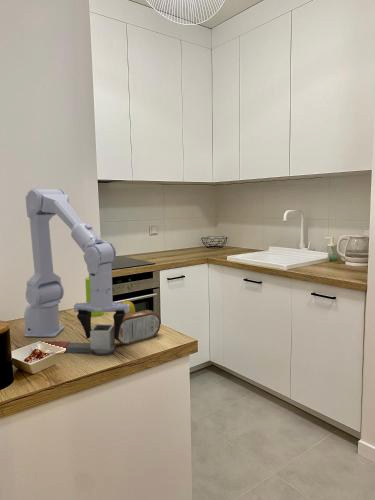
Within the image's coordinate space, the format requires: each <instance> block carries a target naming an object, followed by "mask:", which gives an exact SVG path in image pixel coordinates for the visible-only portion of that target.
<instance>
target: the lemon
mask: <svg viewBox="0 0 375 500" xmlns="http://www.w3.org/2000/svg"><path fill="white" fill-rule="evenodd" d="M121 303H124V304H129V307H130V311H129V312H128V313H126V314H130V313H135V312H136V308H135V304H134V303H133V302H132V301H130V300H128V299H125V300H124V301H122V302H121Z"/></svg>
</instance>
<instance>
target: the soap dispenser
mask: <svg viewBox="0 0 375 500" xmlns="http://www.w3.org/2000/svg"><path fill="white" fill-rule="evenodd" d="M88 302H91V299H90V273H89V272H88V277H85V303H88ZM104 313H105V312H91V317H99V316H103V315H104Z"/></svg>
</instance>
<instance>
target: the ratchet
mask: <svg viewBox="0 0 375 500" xmlns="http://www.w3.org/2000/svg"><path fill="white" fill-rule="evenodd" d="M40 342H45V343H48V344H51V345H55V346H59V347H63V348H66V351H65V352H64V353H63V354H73V355H75V354H77V355H79V354H81V355H82V354H83V355H84V354H85V355H93V356H96V357H108V356H110V355H112V354H114V353H115V352H116V343H114V344H113V346H112V347H111V349H110V350H107V349H91V342H70V341H65V340H64V341H62V340H61V341H56V340H53V341H52V340H50V341H49V340H41V341H40Z"/></svg>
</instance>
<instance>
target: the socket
mask: <svg viewBox="0 0 375 500" xmlns="http://www.w3.org/2000/svg"><path fill="white" fill-rule="evenodd" d="M89 339H90V343H91V349H107V350H110V349H111V347H112V346H113V344H116V343H115V342H116V340H115V326H114V325H113V324H103V323H102V324H100V323H97V324H95V325H94V326H93V327H91V331H90V338H89Z"/></svg>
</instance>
